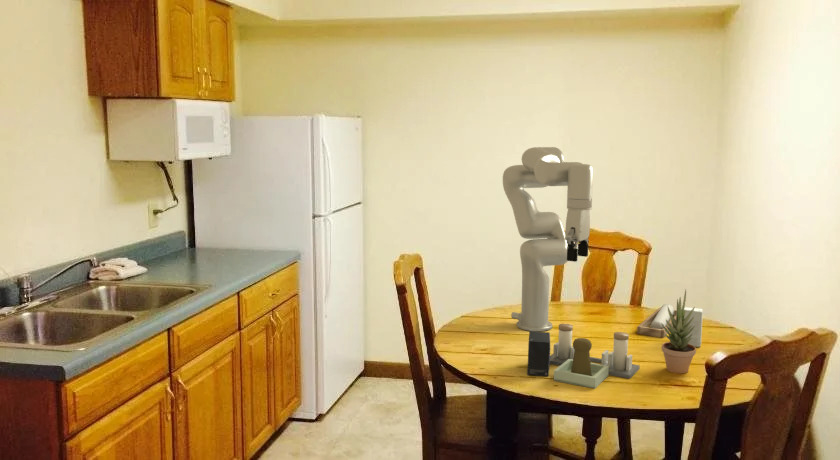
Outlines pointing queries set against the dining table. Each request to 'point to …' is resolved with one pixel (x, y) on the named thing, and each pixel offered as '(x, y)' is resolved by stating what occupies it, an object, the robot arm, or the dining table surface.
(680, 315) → the potted plant
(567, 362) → the tray
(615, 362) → the fuse block
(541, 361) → the small box
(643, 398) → the dining table surface
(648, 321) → the tube rest
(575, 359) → the olive waisted cylinder
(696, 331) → the skincare box
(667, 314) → the tube
